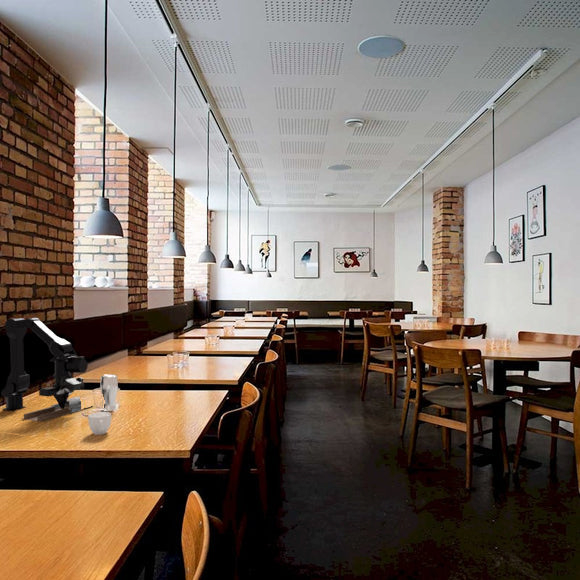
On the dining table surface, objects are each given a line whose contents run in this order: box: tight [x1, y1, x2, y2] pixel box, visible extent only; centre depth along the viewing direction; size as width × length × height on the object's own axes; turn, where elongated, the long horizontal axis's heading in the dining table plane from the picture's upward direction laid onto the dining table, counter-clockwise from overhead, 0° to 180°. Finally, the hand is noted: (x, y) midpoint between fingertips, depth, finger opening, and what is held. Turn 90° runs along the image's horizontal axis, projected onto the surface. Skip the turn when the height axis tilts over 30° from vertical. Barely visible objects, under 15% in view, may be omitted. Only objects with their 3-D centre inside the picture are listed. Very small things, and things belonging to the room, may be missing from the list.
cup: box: [87, 411, 112, 436], centre depth 172 cm, size 8×10×7 cm
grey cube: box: [64, 398, 77, 411], centre depth 205 cm, size 4×4×4 cm
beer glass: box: [99, 373, 119, 412], centre depth 205 cm, size 7×7×15 cm
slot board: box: [21, 403, 82, 423], centre depth 200 cm, size 12×26×2 cm, turn 158°
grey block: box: [69, 396, 81, 406], centre depth 209 cm, size 4×4×4 cm
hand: (62, 408), depth 202 cm, fingers closed
